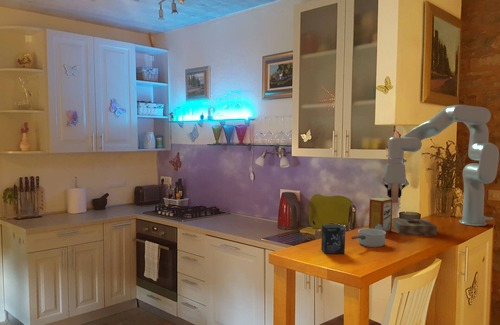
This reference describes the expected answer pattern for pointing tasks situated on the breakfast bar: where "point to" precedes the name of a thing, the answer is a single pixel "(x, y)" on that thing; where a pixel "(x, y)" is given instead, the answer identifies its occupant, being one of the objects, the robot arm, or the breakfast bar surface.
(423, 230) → the socket block
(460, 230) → the breakfast bar surface
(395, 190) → the peg
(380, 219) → the baking soda box
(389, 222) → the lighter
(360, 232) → the saucepan
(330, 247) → the box
